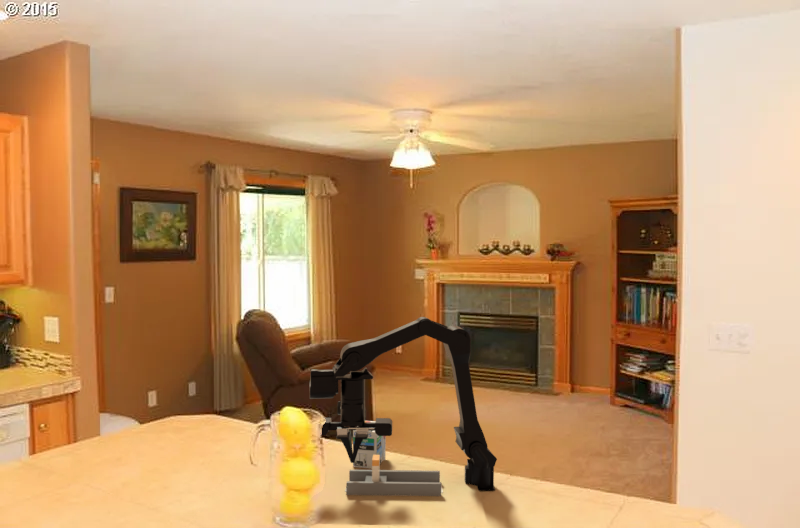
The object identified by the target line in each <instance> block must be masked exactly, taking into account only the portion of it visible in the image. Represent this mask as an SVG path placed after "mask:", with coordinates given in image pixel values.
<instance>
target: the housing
mask: <svg viewBox="0 0 800 528" xmlns="http://www.w3.org/2000/svg"><path fill="white" fill-rule="evenodd" d="M440 471H441V470H419V469H417V470H412V469H411V470H410V469H409V470H408V469H407V470H405V469H402V470H401V469H400V470H398V469H380V475H387V482H365V479H366V475H372V469H349V473H348V477H349V481H348V480H347V481H346V486H345V490H344V492H345V495H347V496H396V497H397V496H402V497H405V496H407V497H410V496H411V497H441V496H442V494H443V493H444V492H443V485H442V481H440V479H441V472H440Z"/></svg>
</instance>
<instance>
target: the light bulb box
mask: <svg viewBox="0 0 800 528" xmlns="http://www.w3.org/2000/svg"><path fill="white" fill-rule="evenodd" d="M365 422H376V420H366V421H365ZM356 427H358V426H356ZM355 435H356V430H352V450H353V449H354V441H355ZM386 437H387V436H378V435H377V434H376V433H375V431H369V434H368V438H367V439H363V441H362V443H361V445H360V447H359V449H358V452H357V456H356V459H355V462H354V463H352V467H353V468H359V469H361V468H362V469H372V458H373V455H380V465H381V464H382V462H383V461H386V450H387V449H386V442H387V440H386V439H387V438H386Z"/></svg>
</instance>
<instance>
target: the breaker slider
mask: <svg viewBox="0 0 800 528" xmlns="http://www.w3.org/2000/svg"><path fill="white" fill-rule="evenodd" d="M380 465H381V464H380V455H373V458H372V468H371V470H372V475H366V479H365V482H387V475H380V470H381V468H380V467H381V466H380Z"/></svg>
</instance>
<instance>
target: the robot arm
mask: <svg viewBox="0 0 800 528" xmlns="http://www.w3.org/2000/svg"><path fill="white" fill-rule="evenodd" d="M425 336H427V337H429V338H431V339H434V340H435V341H439V342H441V343H442V344H443V347H444V349H445V352H446V355H447V356H448V357H447V358H448V359H449V363H450V364H451V369H452V376H453V381H454V383H453V384H454V388H455V395H456V400H457V401H456V403H457V407H458V413H459V425H458V426H453V429H454V430H453V431H454V433H455V443H456V445H457V446H458V447H459V448H460V449H461V451H462V452H463V453H464V454H465V456H466V457H467V458H466V465H464V483H465V484H467V485H472V486H477V490H478V491H479V492H480V491H482V492H483V491H484V492H485V491H486V492H493V491H495V490H496V488H495V485H494V484H495V483H494V481H495V480H494V479H495V477H494V476H495V470H494V469H495V466H496V463H497V460H498V459H497V457H496V456H495V455H494V454H493V453H492V451H490V449H489V448H488V443H487V440H486V437H485V434H484V431H483V429H482V426H481V425H480V423H479V420H478V413H477V408H476V400H475V397H474V396H475V395H474V388H473V383H472V375H471V370H470V358H471V353H472V352H471V351H472V349H471V348H472V339H471V335H470V333H469V332H468V331H467V330H466V329H464V328H461V327H460V326H457V325H449V326H447V325H445V324H443V323H442V324H441V323H439V322H437V321H434V320H431V319H429V318H428V317H426V316H419V317H418V318H417V319H415V320H414V321H410V322H408V323H407V324H404V325H402V326H400V327H396V328H395V329H392V330H390V331H388V332H385V333H383V334H381V335H379V336H376V337H373V338H370V339H369V338H368V339H363V340H358V341H353V342H349V343H347V344H345V345H344V346H343V347H342V348H341V350H340V356H339V358H338V360H337V361H336V362H335V364H334V365H333V366H332V369H317V368H315V369H310V378H309V379H310V380H309V399H310V400H313V399H317V400H319V399H320V400H321V399H334V397H335V396H337V395H338V394H339V381H340V400H339V401H337V405H336V414H337V415H338V416H340V421H332V417H324V418H325V419H326V422H325V424H324V425H323V428H322V435H321V436H326V435H327V434H328V433H329V432H330V431H336V437H335V438H336V439H337V440H341V442H342V445H343V447H344V448H345V450H346V453H347V456H348V459H349V461H350V463H351V464H353V463H354V462H355V459H356V456H357V452H358V449H359V447H360V445H361V443H362V441H363V439H367V438H368V434H369V431H375V433H376V434H377V435H378V436H386V437H391V436H393V420H392V419H391V418H390V417H376V418H375V421H376V422H365V421H367V420H366V419H367V409H366V380H373V379H374V375H373V374H372V372H370V371H369V369H368V367H367V366H368V365H369V364H371V363H372V362H373V361H375V360H376V359H377V358H379V356H381V355H382V354H385V353H387V352H389V351H392V350H394V349H397V348H399V347H401V346H403V345H406V344H408V343H410V342H412V341H414V340H415V341H416V340H417V339H419V338H421V337H425ZM361 369H362V370H361ZM357 426H358V427H357ZM353 430H356V435H355V441H354V449H353V440H352V431H353Z"/></svg>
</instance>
